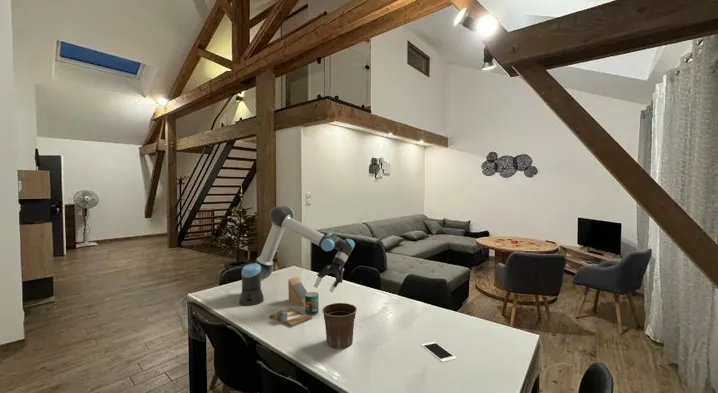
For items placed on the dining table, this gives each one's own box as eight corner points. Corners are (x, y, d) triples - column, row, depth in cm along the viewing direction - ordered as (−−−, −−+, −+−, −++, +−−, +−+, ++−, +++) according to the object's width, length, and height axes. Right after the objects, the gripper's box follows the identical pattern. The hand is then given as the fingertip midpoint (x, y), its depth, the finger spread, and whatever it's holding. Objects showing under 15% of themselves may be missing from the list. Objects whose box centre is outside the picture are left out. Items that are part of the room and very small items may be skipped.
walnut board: (269, 317, 176) (269, 307, 176) (289, 310, 187) (289, 301, 187) (291, 327, 163) (291, 316, 163) (311, 319, 174) (311, 309, 174)
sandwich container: (305, 307, 192) (305, 283, 192) (288, 302, 201) (288, 279, 201) (314, 303, 199) (314, 280, 199) (297, 298, 208) (297, 276, 208)
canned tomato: (302, 314, 181) (302, 295, 181) (309, 309, 188) (309, 291, 188) (314, 316, 178) (314, 297, 178) (320, 311, 186) (320, 292, 185)
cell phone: (442, 363, 130) (442, 361, 130) (420, 345, 145) (420, 344, 145) (457, 359, 133) (457, 358, 133) (434, 342, 148) (434, 341, 148)
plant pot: (343, 355, 135) (343, 318, 135) (315, 345, 144) (315, 311, 144) (363, 340, 149) (363, 307, 149) (335, 332, 158) (335, 300, 157)
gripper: (357, 266, 194) (340, 296, 183) (329, 261, 210) (312, 288, 199) (351, 259, 190) (334, 289, 179) (323, 254, 206) (305, 282, 195)
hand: (322, 289), depth 189 cm, fingers open, 13 cm apart
